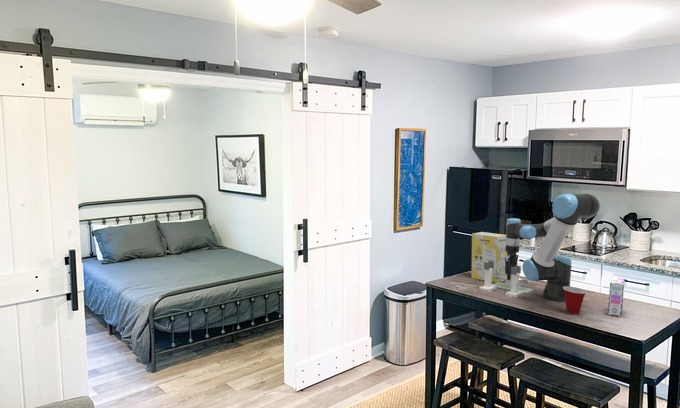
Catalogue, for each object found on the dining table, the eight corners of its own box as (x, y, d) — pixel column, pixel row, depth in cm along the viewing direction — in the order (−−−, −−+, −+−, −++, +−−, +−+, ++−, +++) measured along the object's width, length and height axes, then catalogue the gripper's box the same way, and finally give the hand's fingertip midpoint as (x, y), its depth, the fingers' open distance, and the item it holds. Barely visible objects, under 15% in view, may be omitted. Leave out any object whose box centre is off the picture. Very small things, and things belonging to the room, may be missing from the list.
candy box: (621, 317, 243) (623, 284, 241) (607, 315, 246) (609, 282, 244) (622, 309, 254) (625, 278, 252) (609, 307, 257) (611, 276, 256)
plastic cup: (589, 316, 244) (591, 292, 242) (567, 315, 244) (568, 291, 243) (579, 308, 255) (580, 285, 253) (558, 308, 255) (559, 285, 254)
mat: (534, 290, 288) (534, 289, 288) (526, 293, 281) (526, 292, 281) (498, 283, 303) (498, 282, 303) (490, 286, 296) (490, 285, 296)
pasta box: (506, 280, 308) (507, 234, 305) (497, 282, 301) (498, 236, 299) (481, 275, 321) (481, 232, 319) (471, 277, 315) (472, 233, 312)
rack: (523, 294, 280) (525, 266, 278) (515, 297, 273) (517, 269, 271) (487, 286, 295) (488, 259, 293) (478, 289, 288) (480, 262, 286)
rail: (528, 283, 286) (528, 278, 286) (526, 285, 284) (526, 280, 284) (495, 277, 300) (495, 272, 300) (493, 278, 298) (493, 273, 297)
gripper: (512, 242, 298) (510, 280, 301) (500, 245, 286) (497, 285, 289) (524, 244, 293) (522, 283, 296) (512, 247, 281) (510, 288, 284)
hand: (510, 284), depth 292 cm, fingers closed on rail, 3 cm apart
